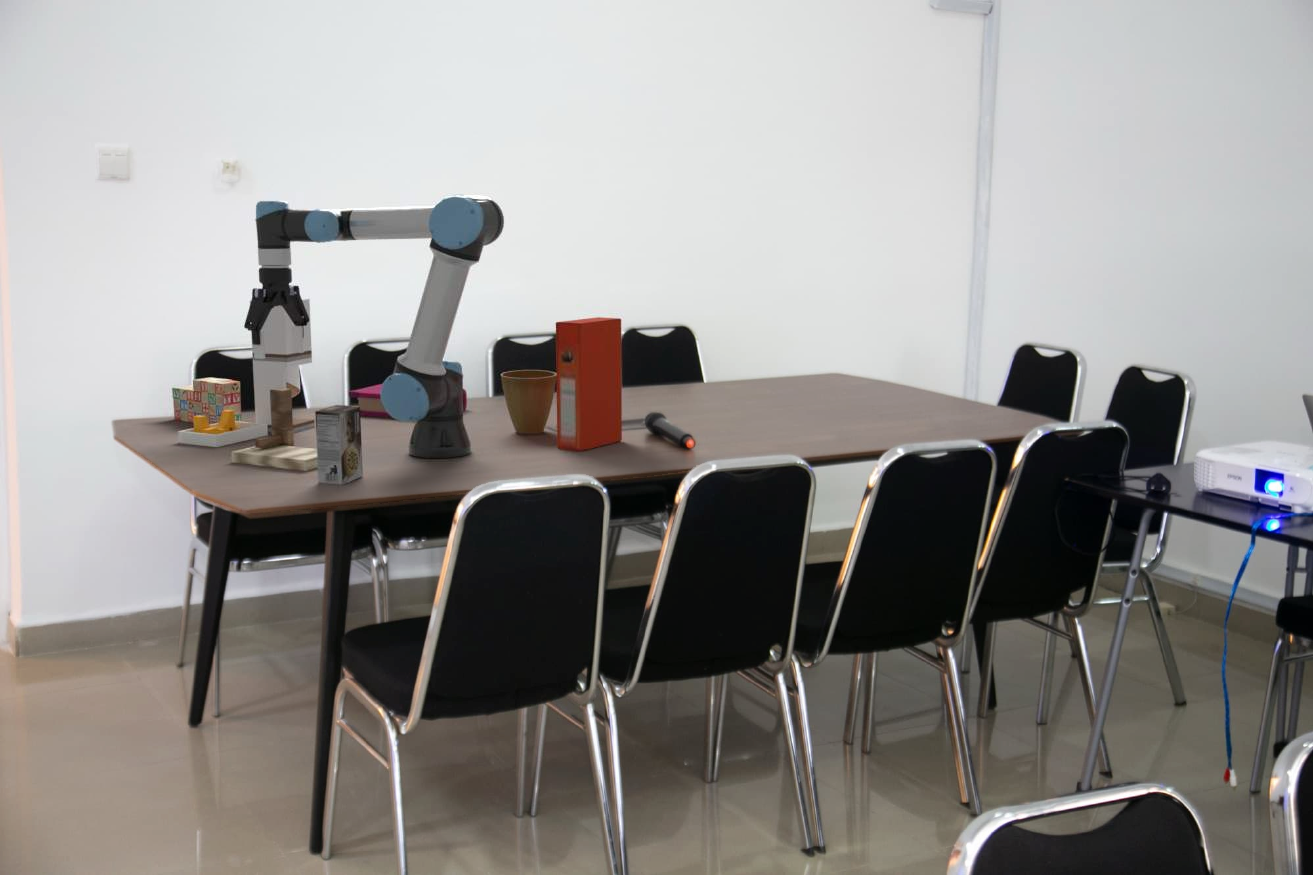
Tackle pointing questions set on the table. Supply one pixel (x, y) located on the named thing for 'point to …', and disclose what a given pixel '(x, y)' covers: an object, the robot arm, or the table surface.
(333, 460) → the printed food box
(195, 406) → the stack of blocks
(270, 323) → the white column with cutout
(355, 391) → the book
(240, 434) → the clamp rest frame
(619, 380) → the file binder
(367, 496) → the table surface
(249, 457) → the pine board
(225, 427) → the pipe clamp
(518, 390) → the plant pot
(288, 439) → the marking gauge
